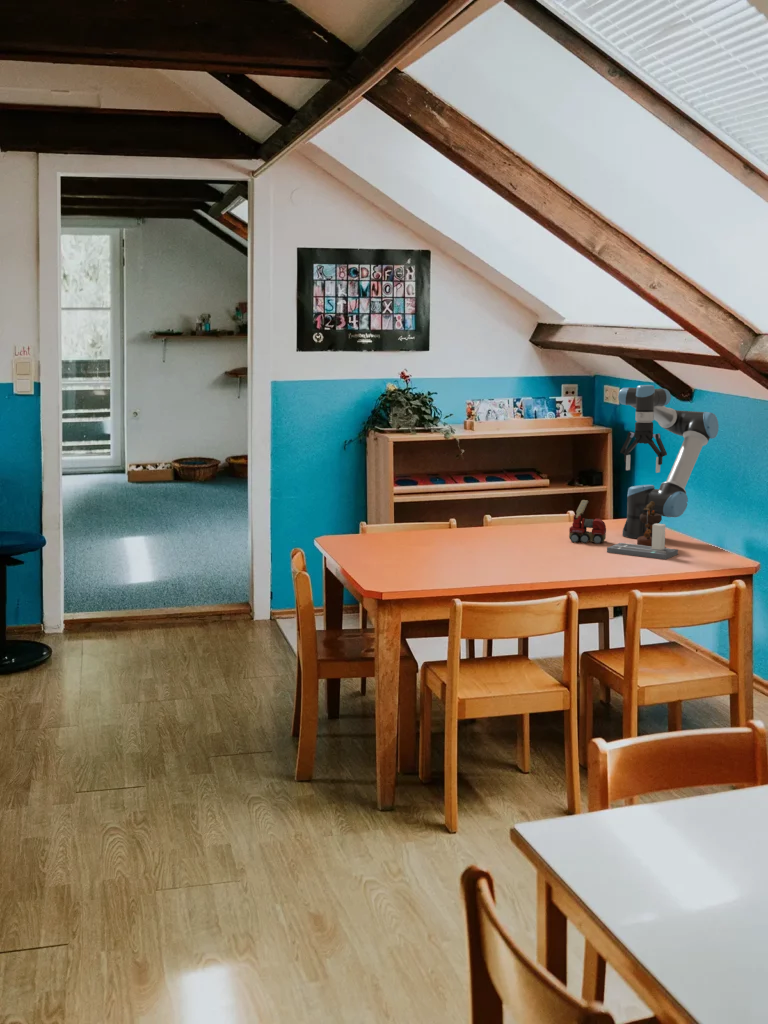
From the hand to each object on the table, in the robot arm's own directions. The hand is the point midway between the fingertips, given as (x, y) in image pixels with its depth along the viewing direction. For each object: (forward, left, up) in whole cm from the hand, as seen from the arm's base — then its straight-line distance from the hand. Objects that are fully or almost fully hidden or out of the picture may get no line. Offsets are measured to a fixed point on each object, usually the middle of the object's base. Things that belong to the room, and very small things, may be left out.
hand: (642, 471), depth 477 cm
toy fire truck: (+2, -24, -33) cm, 41 cm away
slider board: (+14, +7, -33) cm, 36 cm away
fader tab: (+14, +14, -31) cm, 37 cm away
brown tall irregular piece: (-3, +3, -33) cm, 33 cm away
